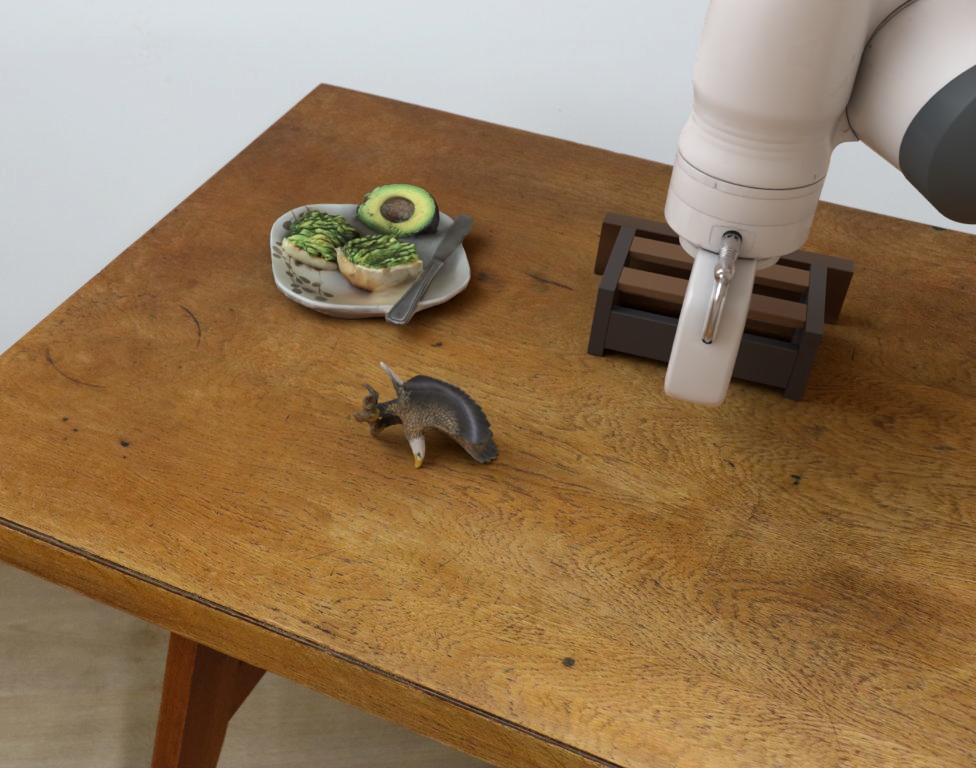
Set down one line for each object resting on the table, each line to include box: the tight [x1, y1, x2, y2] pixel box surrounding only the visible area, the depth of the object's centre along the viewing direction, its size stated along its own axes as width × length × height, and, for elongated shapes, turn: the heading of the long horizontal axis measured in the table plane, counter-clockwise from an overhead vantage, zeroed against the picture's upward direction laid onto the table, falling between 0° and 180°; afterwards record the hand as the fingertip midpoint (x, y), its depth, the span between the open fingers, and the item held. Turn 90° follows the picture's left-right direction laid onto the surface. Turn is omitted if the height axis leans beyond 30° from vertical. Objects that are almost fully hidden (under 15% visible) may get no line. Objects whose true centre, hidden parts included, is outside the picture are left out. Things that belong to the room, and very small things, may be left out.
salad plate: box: [268, 183, 474, 327], centre depth 91 cm, size 19×18×5 cm
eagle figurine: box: [352, 361, 500, 469], centre depth 74 cm, size 8×7×9 cm
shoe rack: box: [586, 226, 827, 402], centre depth 85 cm, size 10×16×6 cm, turn 71°
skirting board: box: [593, 211, 855, 325], centre depth 92 cm, size 2×20×5 cm, turn 71°
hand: (696, 378), depth 77 cm, fingers closed
